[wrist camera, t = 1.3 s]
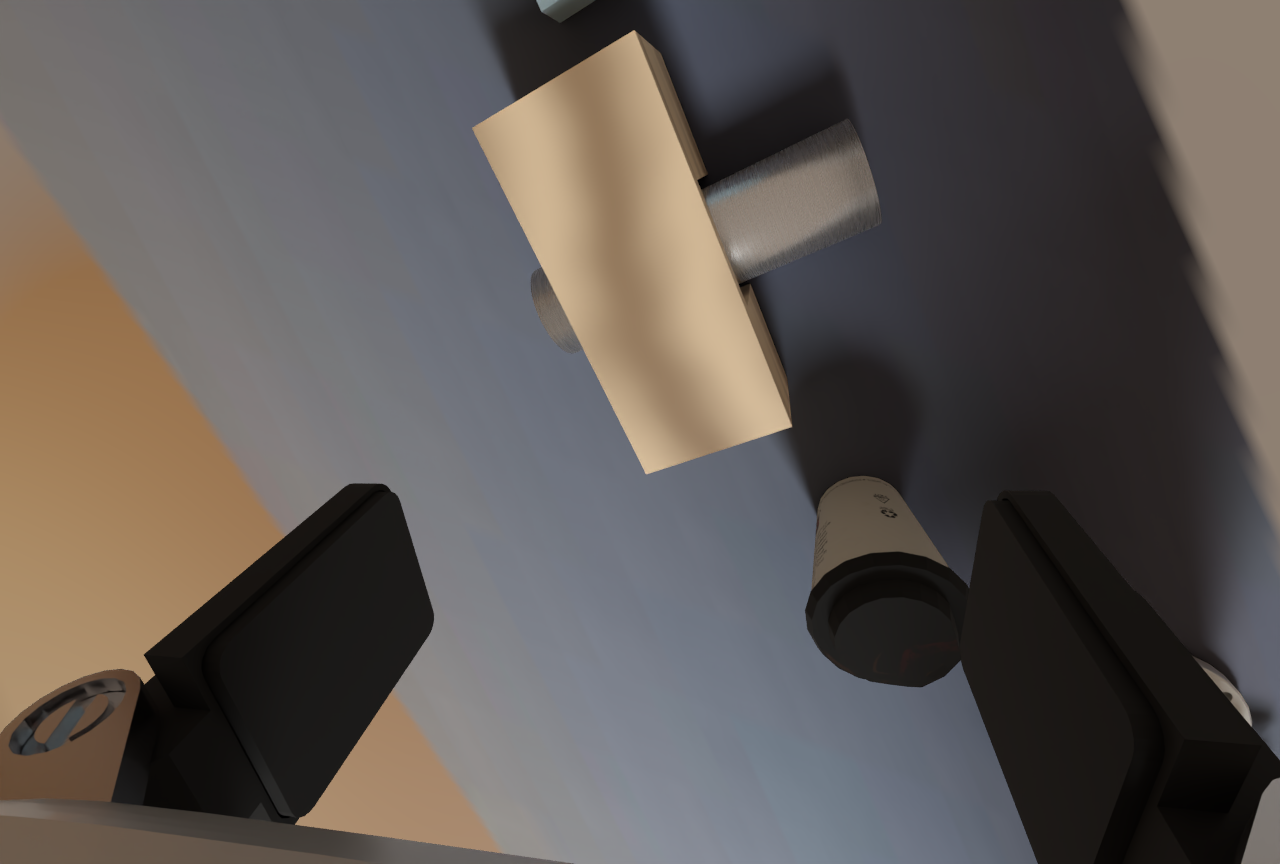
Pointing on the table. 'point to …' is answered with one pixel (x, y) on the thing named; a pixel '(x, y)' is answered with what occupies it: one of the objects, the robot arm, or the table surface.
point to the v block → (562, 8)
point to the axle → (770, 213)
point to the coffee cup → (882, 589)
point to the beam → (639, 255)
